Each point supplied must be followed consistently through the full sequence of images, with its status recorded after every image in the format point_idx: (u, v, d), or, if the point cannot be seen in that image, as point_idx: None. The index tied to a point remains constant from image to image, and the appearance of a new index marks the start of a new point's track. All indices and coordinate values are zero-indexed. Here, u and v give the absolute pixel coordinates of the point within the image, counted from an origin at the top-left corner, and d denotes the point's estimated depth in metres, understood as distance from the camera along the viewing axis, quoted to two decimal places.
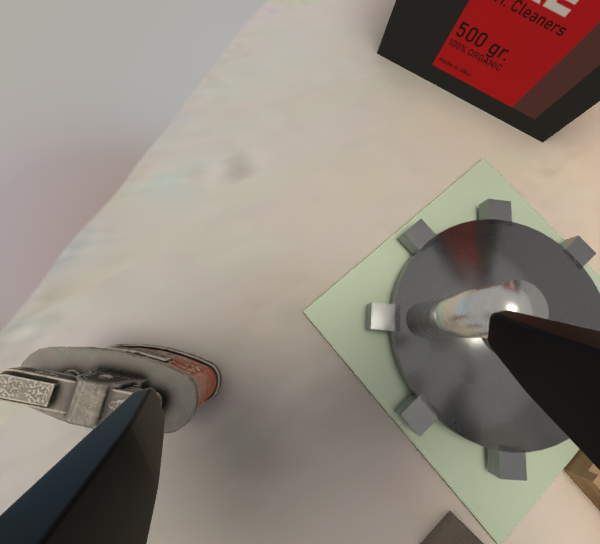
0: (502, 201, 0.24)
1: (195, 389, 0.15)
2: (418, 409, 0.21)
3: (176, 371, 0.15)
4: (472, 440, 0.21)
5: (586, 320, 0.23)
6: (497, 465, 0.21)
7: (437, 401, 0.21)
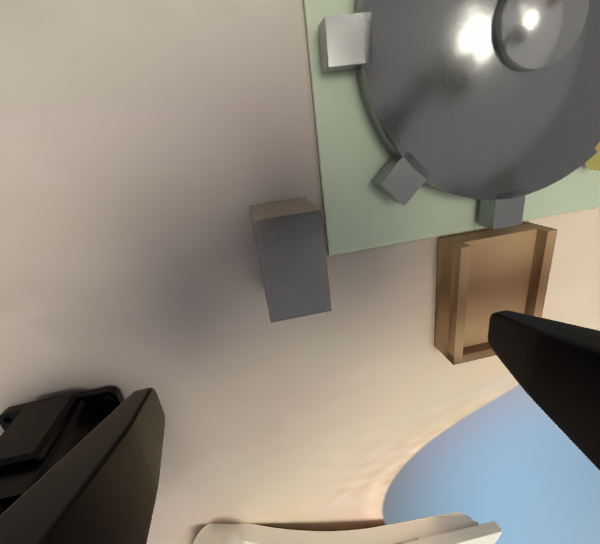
0: None
1: None
2: (350, 29, 0.13)
3: None
4: (384, 122, 0.15)
5: None
6: (388, 172, 0.16)
7: (381, 41, 0.14)
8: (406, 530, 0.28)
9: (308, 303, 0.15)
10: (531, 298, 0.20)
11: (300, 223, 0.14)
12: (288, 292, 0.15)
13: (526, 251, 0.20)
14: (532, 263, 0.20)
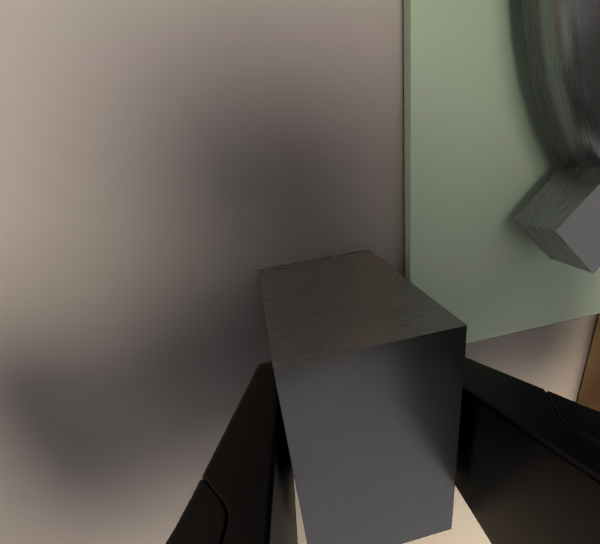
0: None
1: None
2: None
3: None
4: (592, 87, 0.06)
5: None
6: (571, 204, 0.07)
7: None
8: None
9: (402, 524, 0.06)
10: None
11: (408, 364, 0.05)
12: (358, 511, 0.06)
13: None
14: None
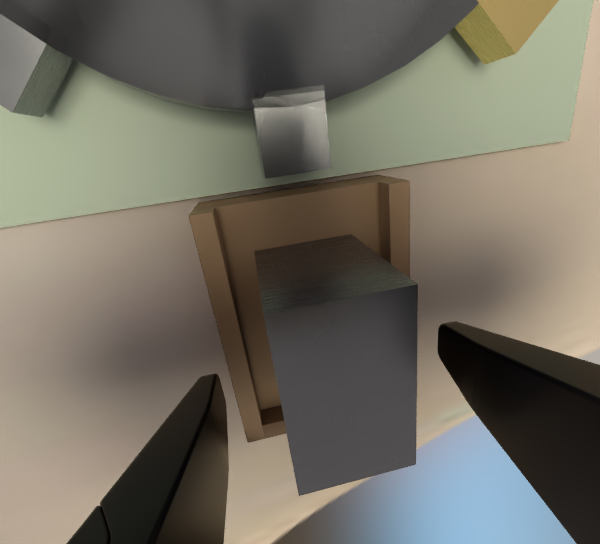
0: None
1: None
2: None
3: None
4: None
5: None
6: None
7: None
8: None
9: (374, 457, 0.08)
10: None
11: (370, 315, 0.06)
12: (336, 442, 0.07)
13: (364, 228, 0.10)
14: (381, 253, 0.10)
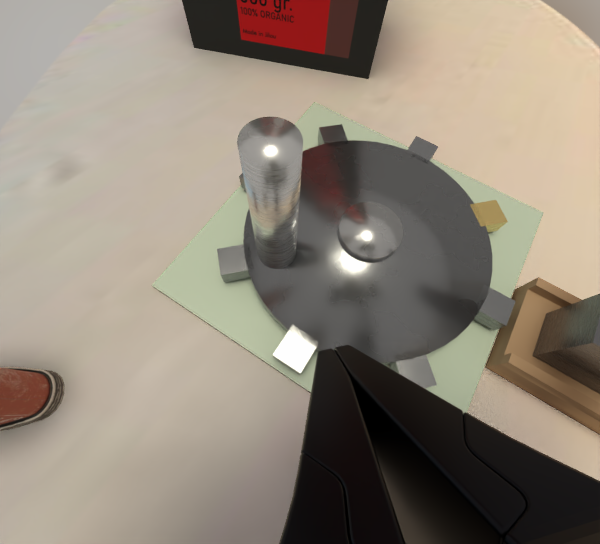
0: (333, 126, 0.24)
1: None
2: (291, 343, 0.18)
3: None
4: None
5: (448, 206, 0.22)
6: None
7: (311, 328, 0.18)
8: None
9: None
10: None
11: None
12: None
13: (546, 307, 0.20)
14: None
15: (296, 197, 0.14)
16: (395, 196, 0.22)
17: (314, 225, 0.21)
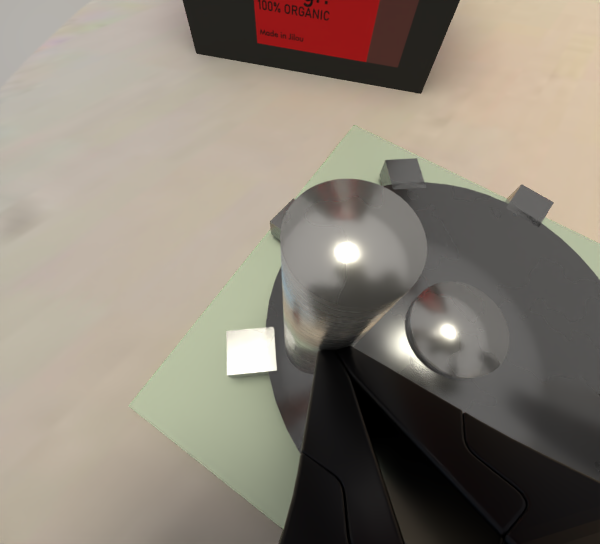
0: (405, 160, 0.18)
1: None
2: None
3: None
4: None
5: (572, 297, 0.15)
6: None
7: None
8: None
9: None
10: None
11: None
12: None
13: None
14: None
15: None
16: (492, 273, 0.15)
17: None
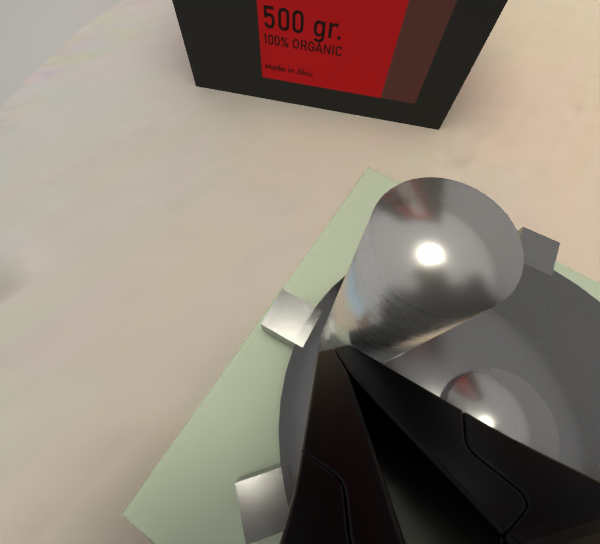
0: (545, 238, 0.16)
1: None
2: (268, 490, 0.11)
3: None
4: None
5: None
6: None
7: None
8: None
9: None
10: None
11: None
12: None
13: None
14: None
15: (418, 344, 0.07)
16: (574, 401, 0.13)
17: (421, 350, 0.13)
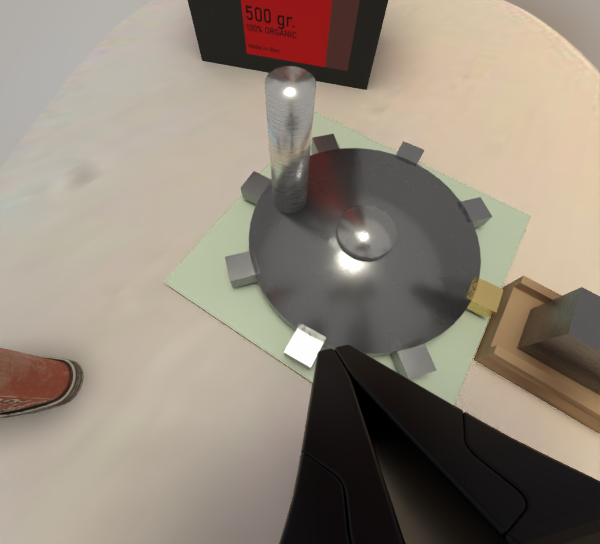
0: (415, 147, 0.26)
1: None
2: (242, 260, 0.21)
3: None
4: (276, 307, 0.20)
5: (453, 263, 0.22)
6: (289, 342, 0.19)
7: (263, 262, 0.21)
8: None
9: None
10: None
11: (586, 306, 0.17)
12: None
13: (531, 303, 0.21)
14: None
15: (296, 143, 0.17)
16: (414, 226, 0.23)
17: (331, 202, 0.23)
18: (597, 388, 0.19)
